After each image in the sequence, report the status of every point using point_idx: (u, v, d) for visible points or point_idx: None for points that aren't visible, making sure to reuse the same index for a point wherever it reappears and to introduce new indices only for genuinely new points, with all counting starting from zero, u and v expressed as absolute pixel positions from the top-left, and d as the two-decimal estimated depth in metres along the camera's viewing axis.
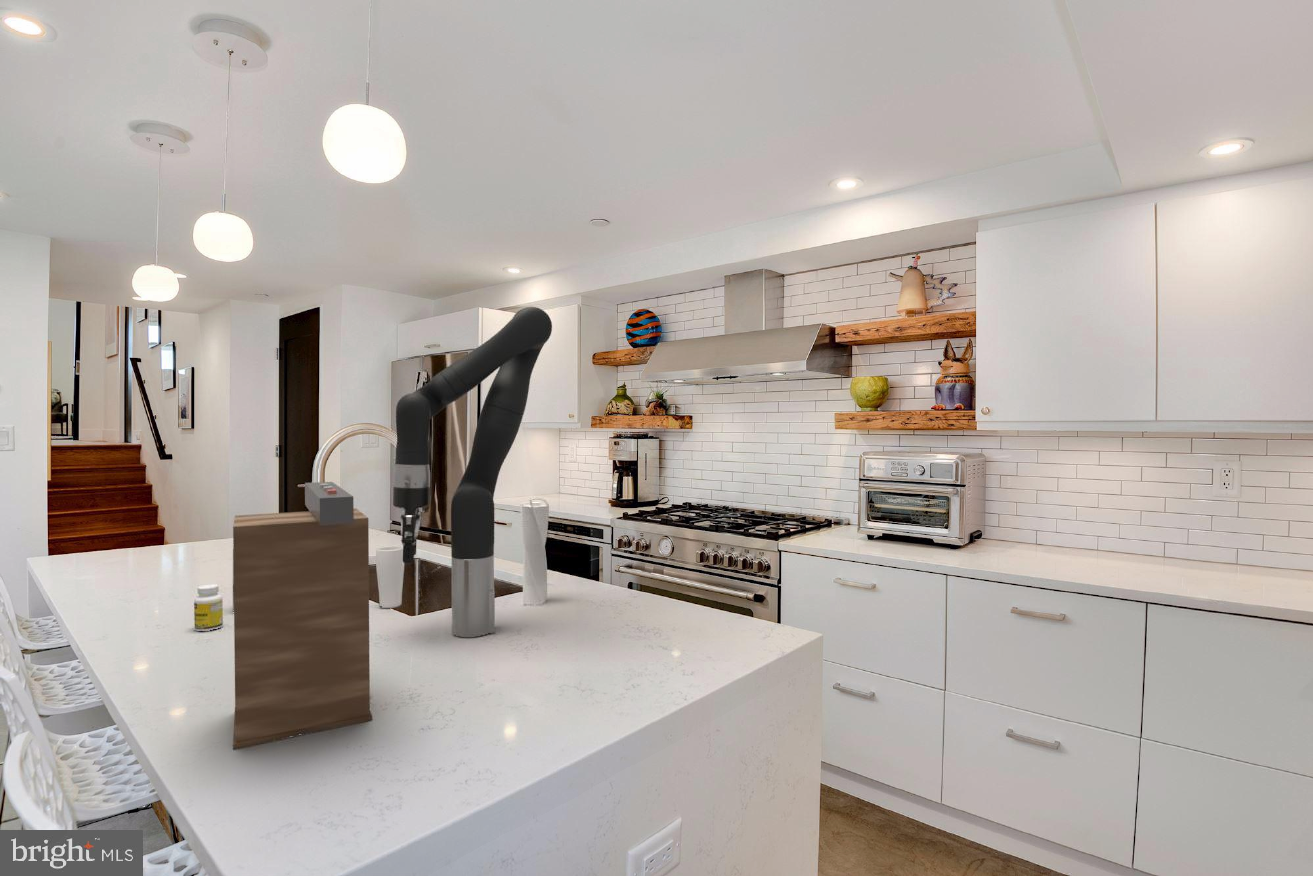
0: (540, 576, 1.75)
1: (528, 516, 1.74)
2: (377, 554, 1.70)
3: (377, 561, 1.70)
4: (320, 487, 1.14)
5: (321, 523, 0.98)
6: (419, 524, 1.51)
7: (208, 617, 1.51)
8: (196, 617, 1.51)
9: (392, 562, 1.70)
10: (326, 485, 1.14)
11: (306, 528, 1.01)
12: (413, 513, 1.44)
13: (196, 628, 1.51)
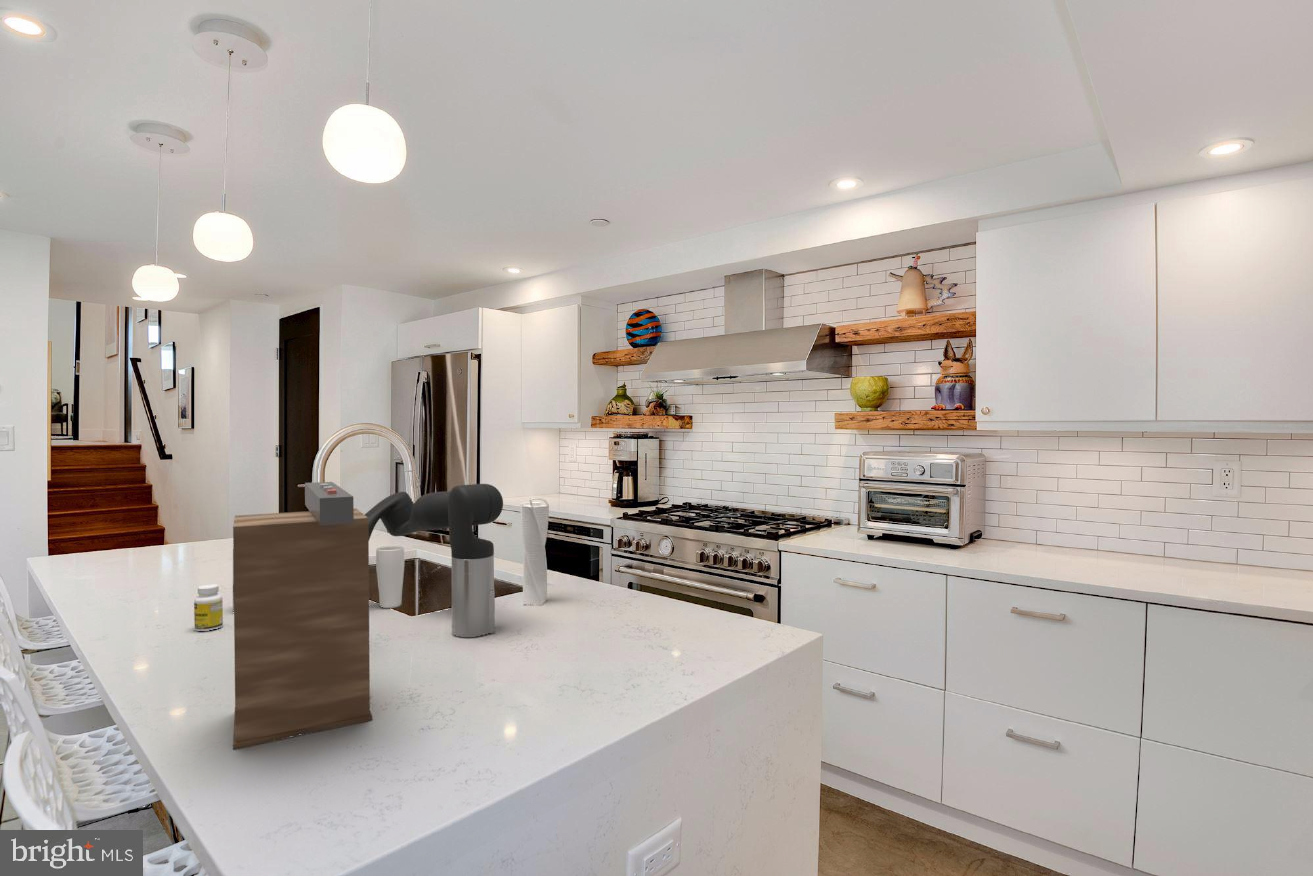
0: (540, 576, 1.75)
1: (528, 516, 1.74)
2: (377, 554, 1.70)
3: (377, 561, 1.70)
4: (320, 487, 1.14)
5: (321, 523, 0.98)
6: None
7: (208, 617, 1.51)
8: (196, 617, 1.51)
9: (392, 562, 1.70)
10: (326, 485, 1.14)
11: (306, 528, 1.01)
12: None
13: (196, 628, 1.51)
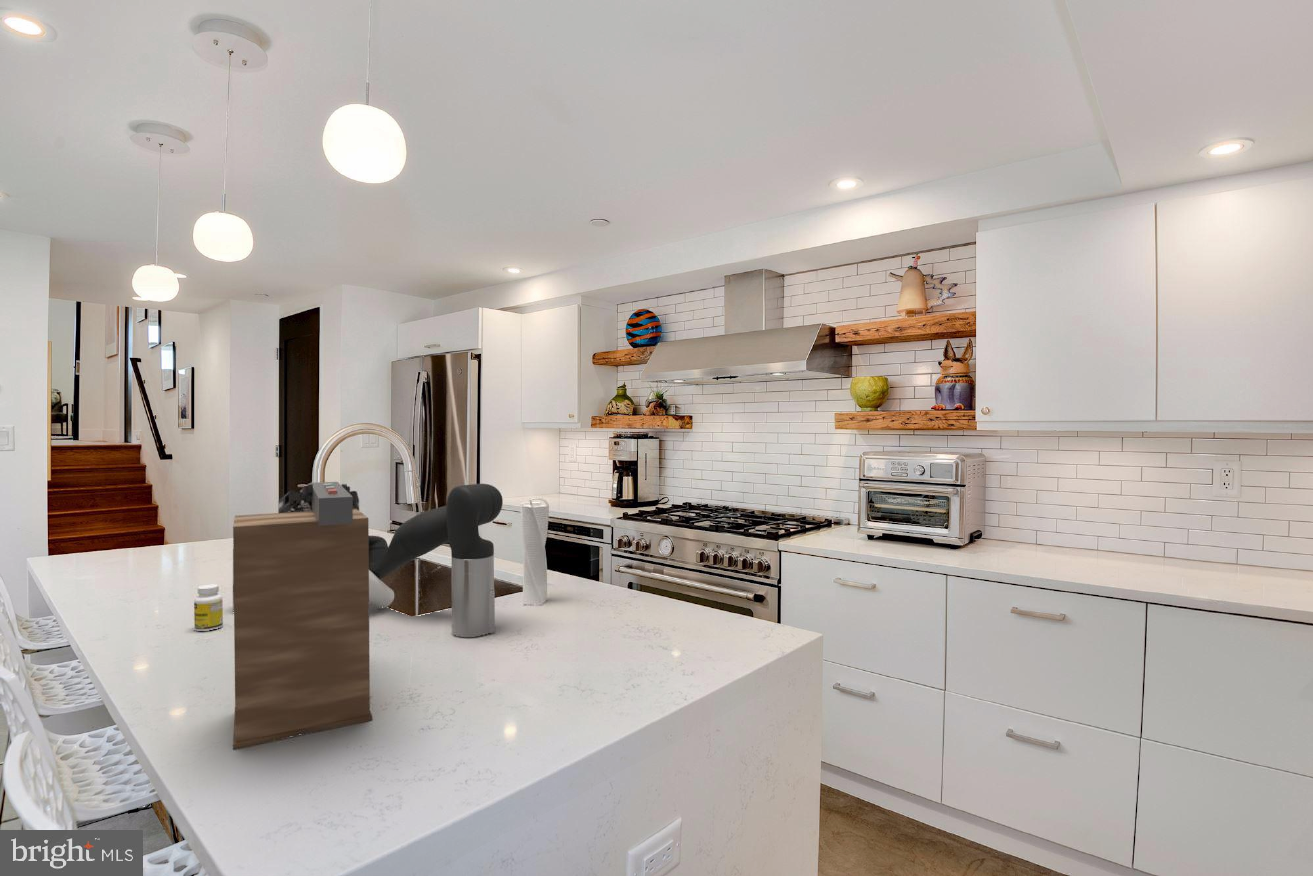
0: (540, 576, 1.75)
1: (528, 516, 1.74)
2: None
3: None
4: (323, 487, 1.14)
5: (320, 523, 0.97)
6: None
7: (208, 617, 1.51)
8: (196, 617, 1.51)
9: None
10: (329, 485, 1.14)
11: (306, 528, 1.01)
12: None
13: (196, 628, 1.51)
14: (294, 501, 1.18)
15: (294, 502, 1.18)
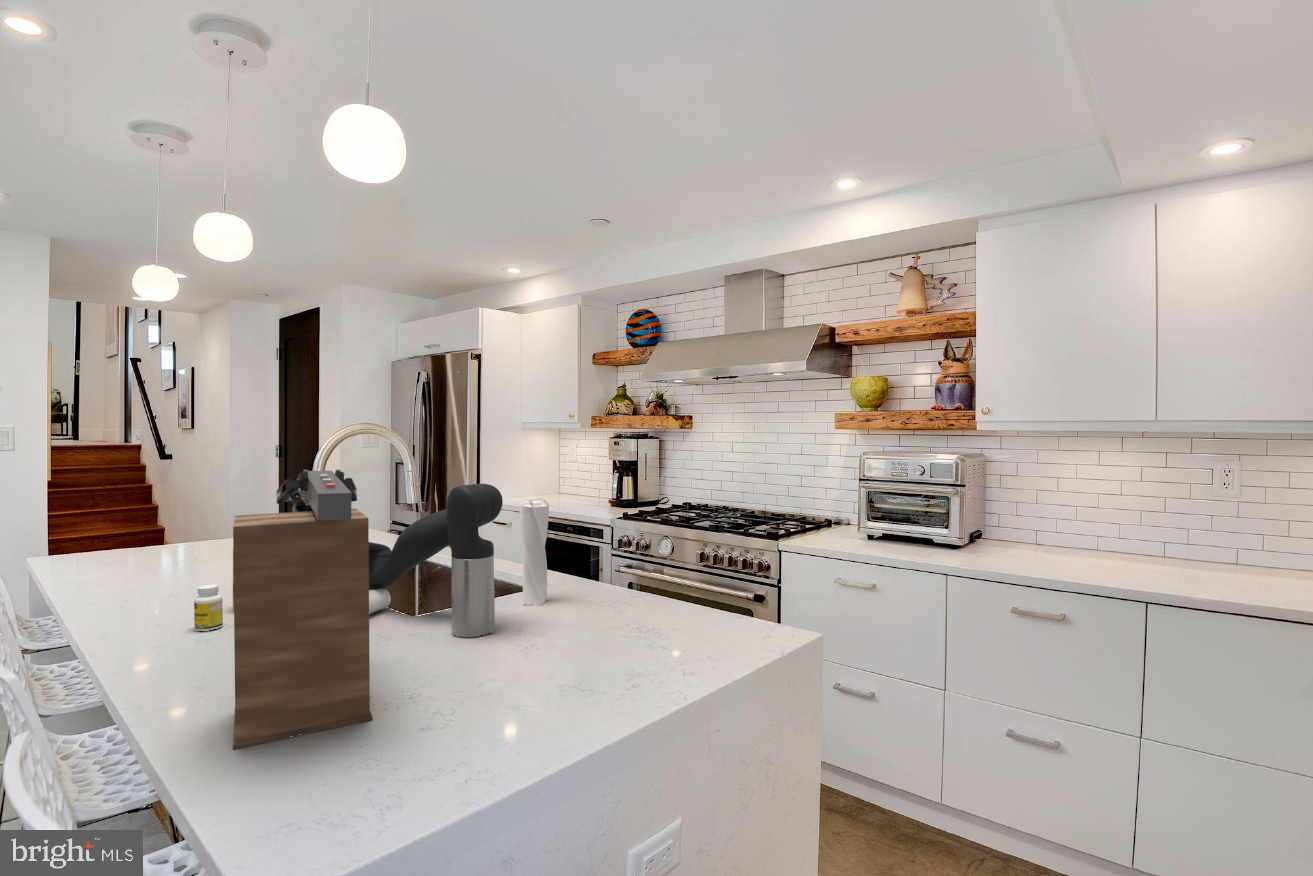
0: (540, 576, 1.75)
1: (528, 516, 1.74)
2: None
3: None
4: (319, 478, 1.15)
5: (319, 518, 0.99)
6: (304, 500, 1.22)
7: (208, 617, 1.51)
8: (196, 617, 1.51)
9: None
10: (325, 476, 1.15)
11: (306, 528, 1.01)
12: None
13: (196, 628, 1.51)
14: (291, 489, 1.19)
15: (291, 490, 1.19)
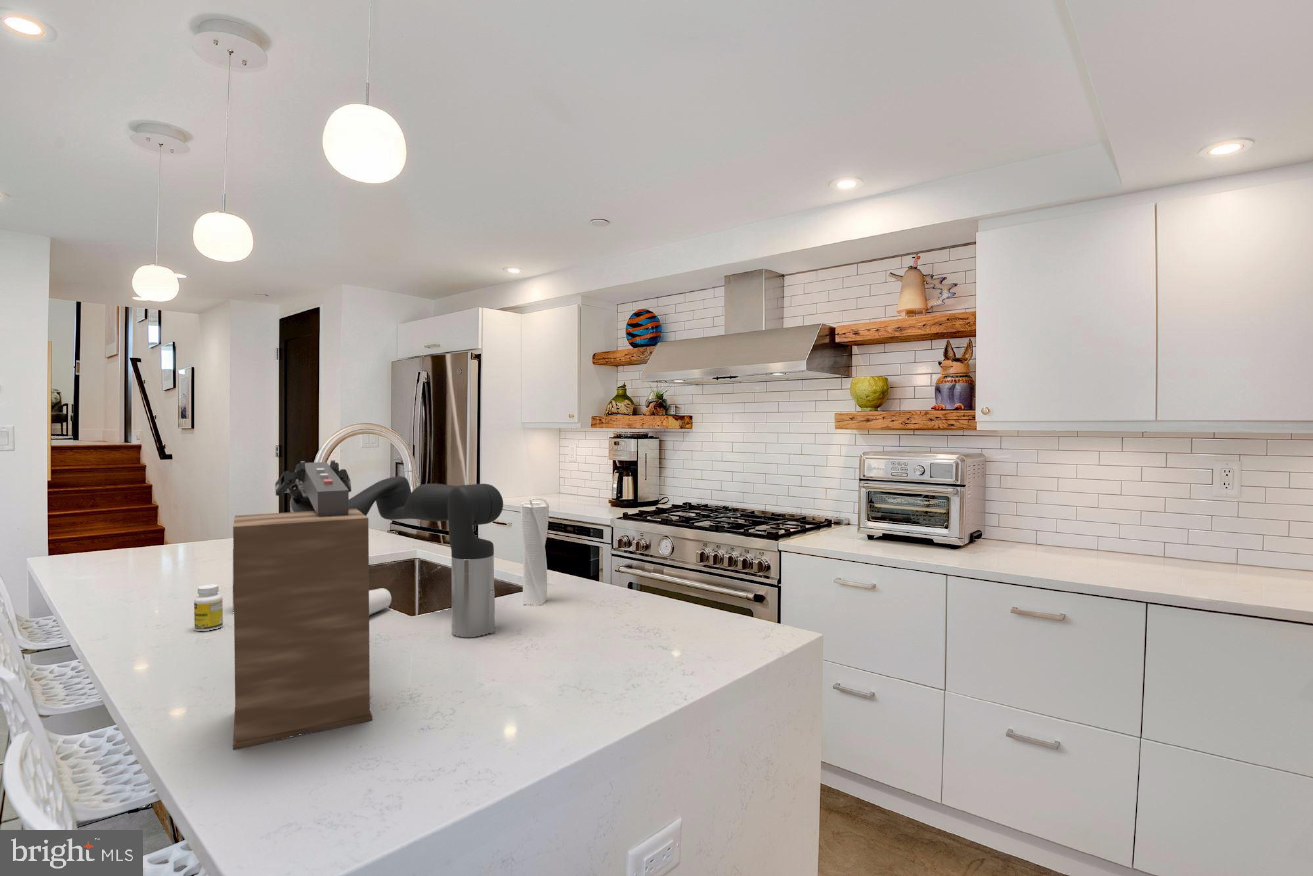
0: (540, 576, 1.75)
1: (528, 516, 1.74)
2: None
3: None
4: (316, 472, 1.23)
5: (319, 514, 1.07)
6: (302, 490, 1.30)
7: (208, 617, 1.51)
8: (196, 617, 1.51)
9: None
10: (322, 470, 1.23)
11: (306, 528, 1.01)
12: None
13: (196, 628, 1.51)
14: (289, 480, 1.27)
15: (289, 481, 1.27)
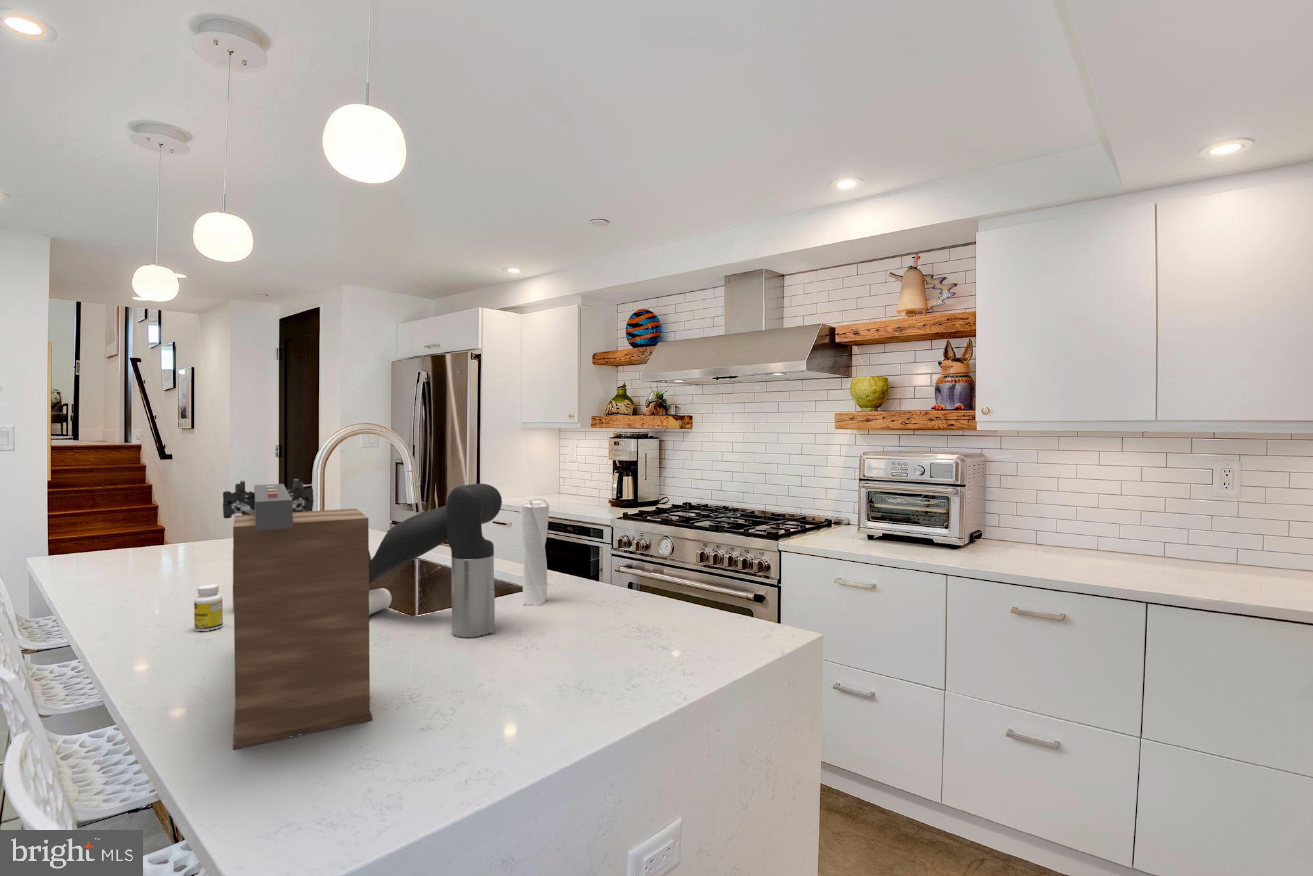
0: (540, 576, 1.75)
1: (528, 516, 1.74)
2: None
3: None
4: (266, 490, 1.10)
5: (257, 528, 0.93)
6: (249, 512, 1.16)
7: (208, 617, 1.51)
8: (196, 617, 1.51)
9: None
10: (272, 488, 1.10)
11: (306, 528, 1.01)
12: None
13: (196, 628, 1.51)
14: (227, 501, 1.13)
15: (227, 503, 1.13)
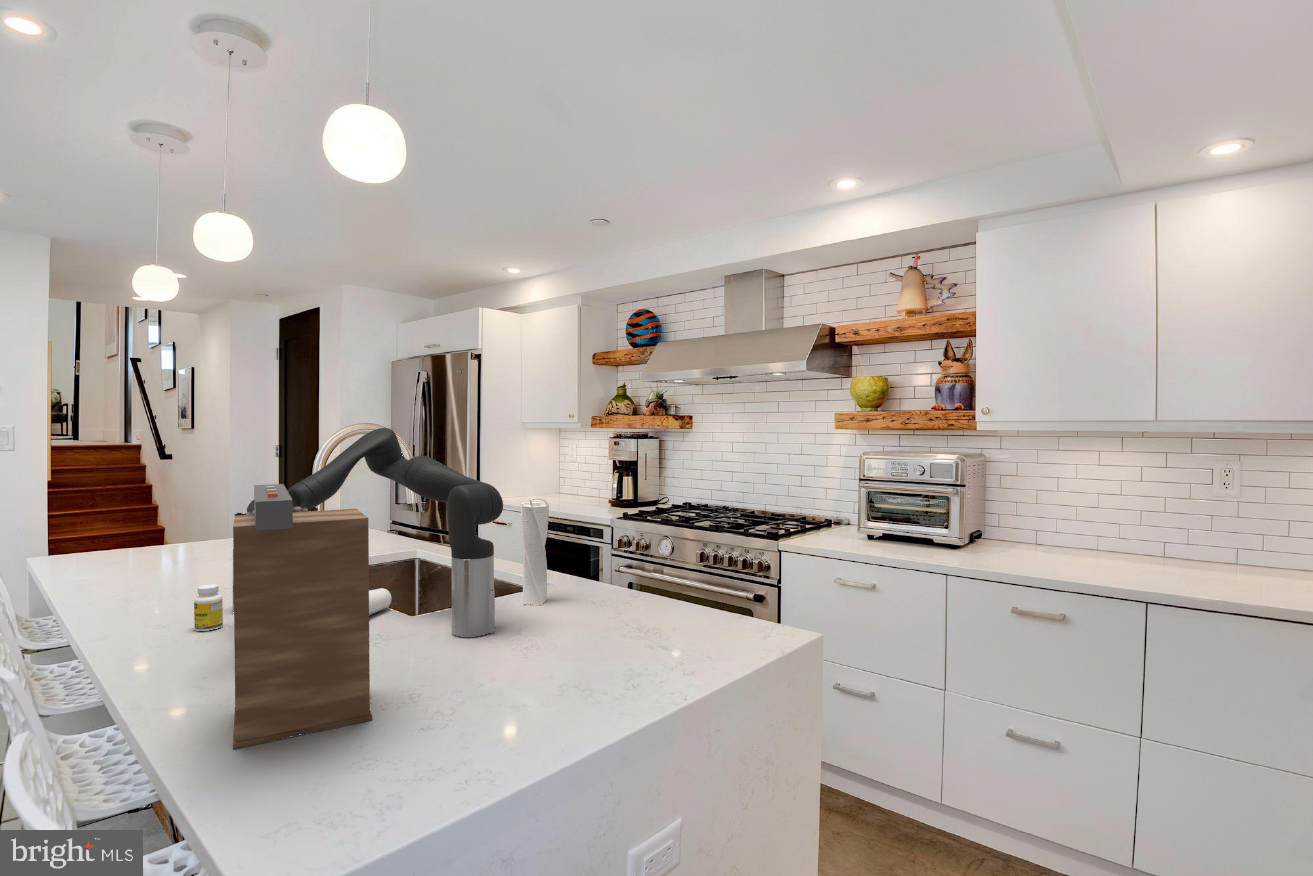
0: (540, 576, 1.75)
1: (528, 516, 1.74)
2: None
3: None
4: (266, 490, 1.10)
5: (257, 528, 0.93)
6: None
7: (208, 617, 1.51)
8: (196, 617, 1.51)
9: None
10: (272, 488, 1.10)
11: (306, 528, 1.01)
12: None
13: (196, 628, 1.51)
14: None
15: None
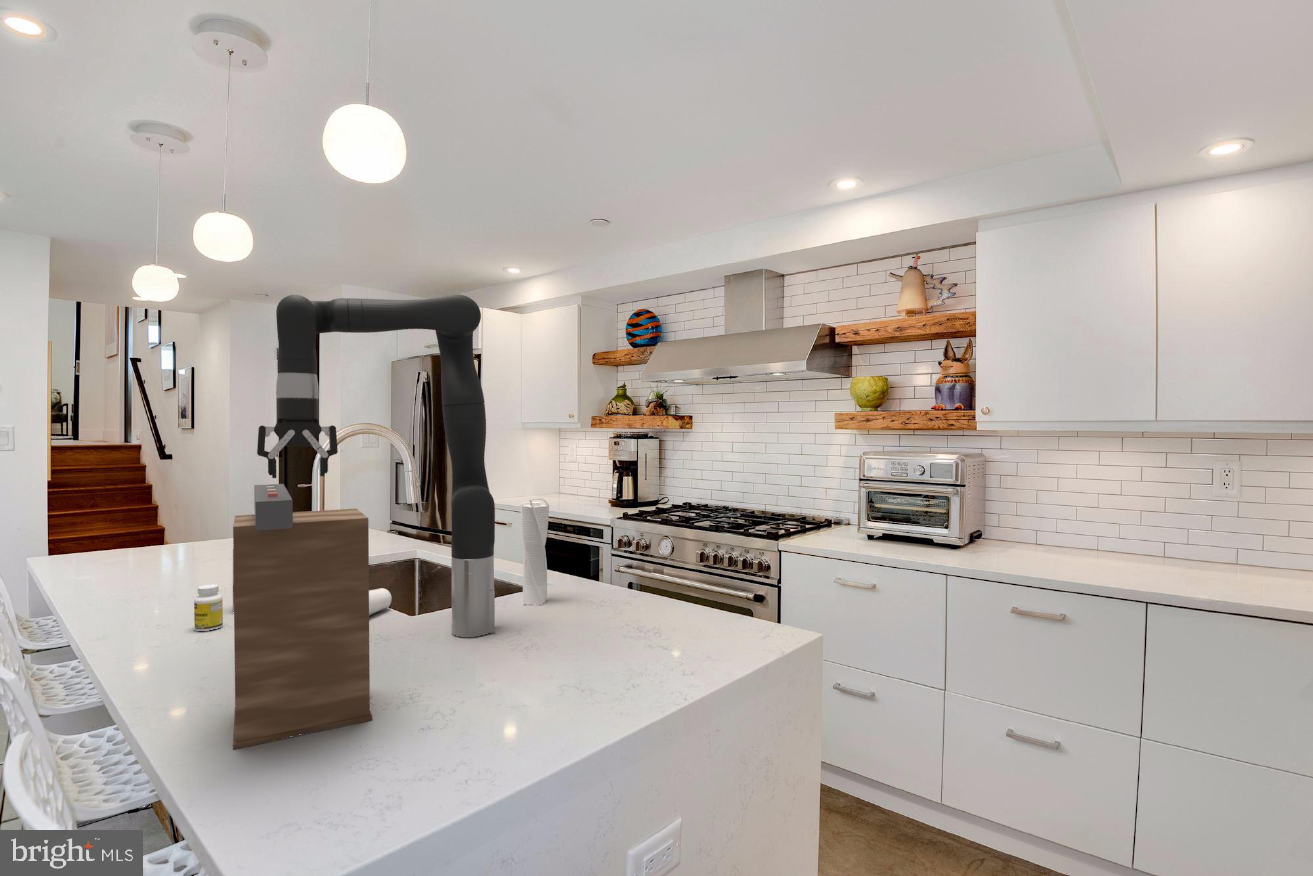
0: (540, 576, 1.75)
1: (528, 516, 1.74)
2: None
3: None
4: (266, 490, 1.10)
5: (257, 528, 0.93)
6: None
7: (208, 617, 1.51)
8: (196, 617, 1.51)
9: None
10: (272, 488, 1.10)
11: (306, 528, 1.01)
12: None
13: (196, 628, 1.51)
14: None
15: None
